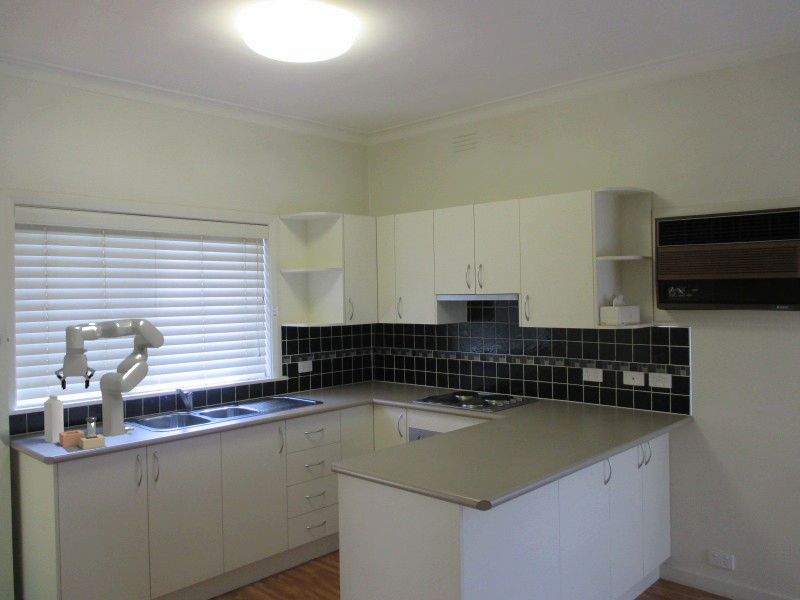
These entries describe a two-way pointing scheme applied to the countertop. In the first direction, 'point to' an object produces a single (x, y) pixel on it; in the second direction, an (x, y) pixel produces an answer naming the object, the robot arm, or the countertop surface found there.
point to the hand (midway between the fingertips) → (75, 388)
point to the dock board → (79, 441)
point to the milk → (53, 419)
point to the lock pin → (91, 427)
